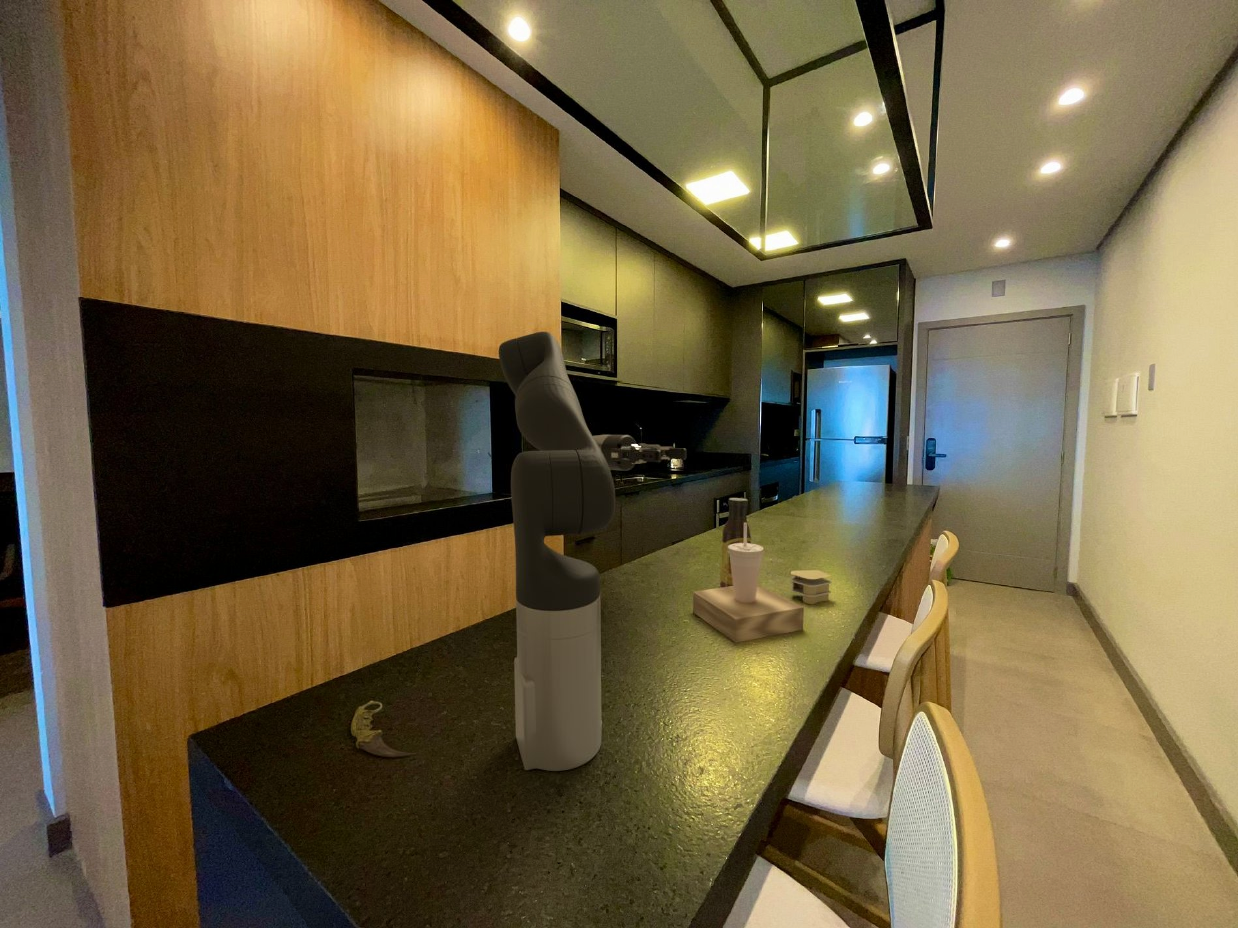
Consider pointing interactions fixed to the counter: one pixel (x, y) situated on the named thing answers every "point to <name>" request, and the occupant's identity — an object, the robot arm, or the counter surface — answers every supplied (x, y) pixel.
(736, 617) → the riser
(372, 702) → the knife
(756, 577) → the smoothie
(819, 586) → the stacked layers on plate
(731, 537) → the sauce bottle
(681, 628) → the counter surface
